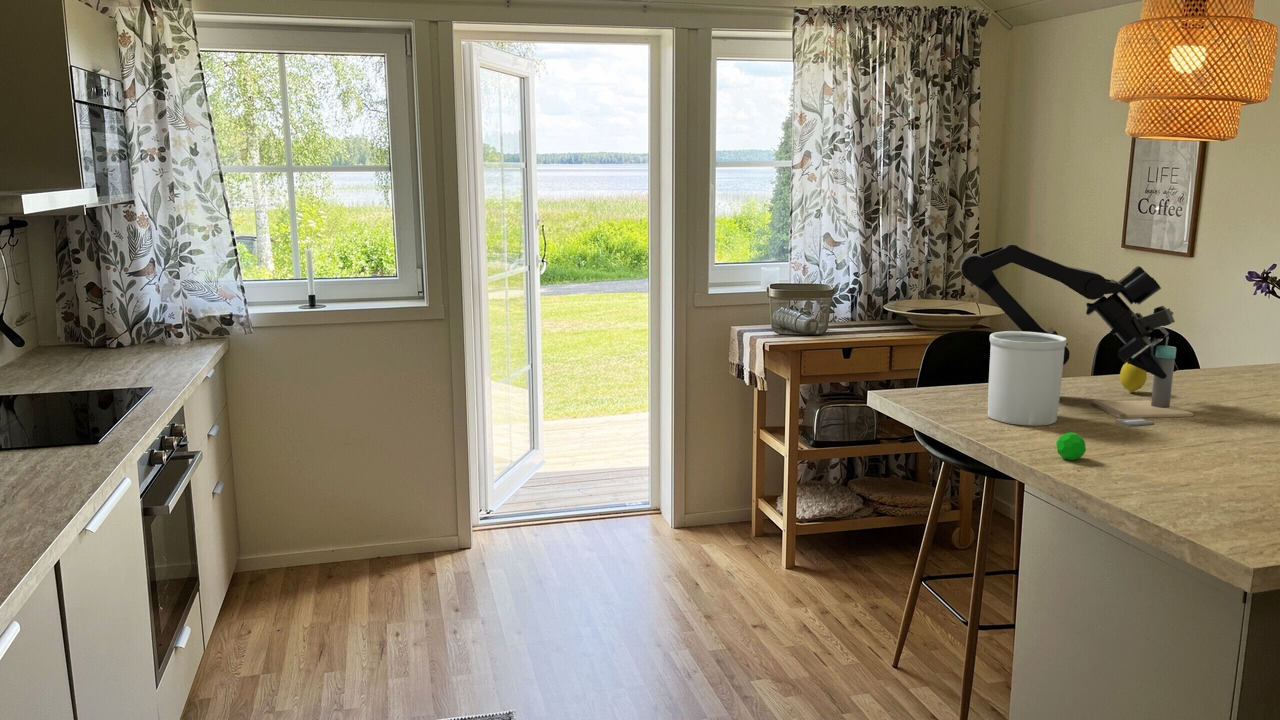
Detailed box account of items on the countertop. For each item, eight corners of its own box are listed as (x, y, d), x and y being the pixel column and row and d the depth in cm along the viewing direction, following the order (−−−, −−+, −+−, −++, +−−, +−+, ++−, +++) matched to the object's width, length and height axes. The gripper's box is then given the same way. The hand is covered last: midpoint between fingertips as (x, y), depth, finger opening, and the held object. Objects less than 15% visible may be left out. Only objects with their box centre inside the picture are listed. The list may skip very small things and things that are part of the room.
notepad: (1119, 418, 205) (1119, 414, 204) (1090, 404, 216) (1090, 401, 216) (1193, 416, 205) (1193, 413, 205) (1160, 402, 217) (1160, 399, 217)
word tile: (1128, 426, 198) (1128, 423, 198) (1115, 421, 202) (1115, 419, 202) (1153, 424, 199) (1154, 422, 199) (1139, 419, 203) (1140, 417, 203)
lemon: (1149, 395, 224) (1152, 361, 223) (1125, 395, 224) (1128, 361, 223) (1137, 389, 230) (1141, 356, 228) (1114, 389, 230) (1117, 356, 228)
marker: (1156, 407, 210) (1162, 348, 208) (1146, 403, 214) (1152, 345, 211) (1173, 407, 210) (1180, 348, 208) (1163, 403, 214) (1169, 345, 211)
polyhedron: (1091, 461, 175) (1093, 436, 174) (1068, 464, 174) (1070, 438, 173) (1071, 454, 180) (1073, 429, 179) (1049, 456, 179) (1051, 431, 178)
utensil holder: (995, 406, 216) (1000, 327, 212) (1067, 415, 207) (1073, 334, 204) (975, 420, 204) (980, 338, 200) (1050, 430, 195) (1057, 345, 192)
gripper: (1139, 299, 203) (1193, 358, 198) (1162, 290, 217) (1213, 345, 212) (1096, 332, 209) (1147, 390, 205) (1121, 322, 223) (1169, 375, 218)
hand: (1170, 374), depth 210 cm, fingers open, 9 cm apart
